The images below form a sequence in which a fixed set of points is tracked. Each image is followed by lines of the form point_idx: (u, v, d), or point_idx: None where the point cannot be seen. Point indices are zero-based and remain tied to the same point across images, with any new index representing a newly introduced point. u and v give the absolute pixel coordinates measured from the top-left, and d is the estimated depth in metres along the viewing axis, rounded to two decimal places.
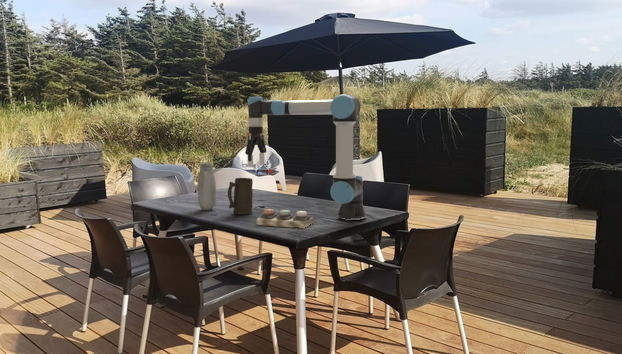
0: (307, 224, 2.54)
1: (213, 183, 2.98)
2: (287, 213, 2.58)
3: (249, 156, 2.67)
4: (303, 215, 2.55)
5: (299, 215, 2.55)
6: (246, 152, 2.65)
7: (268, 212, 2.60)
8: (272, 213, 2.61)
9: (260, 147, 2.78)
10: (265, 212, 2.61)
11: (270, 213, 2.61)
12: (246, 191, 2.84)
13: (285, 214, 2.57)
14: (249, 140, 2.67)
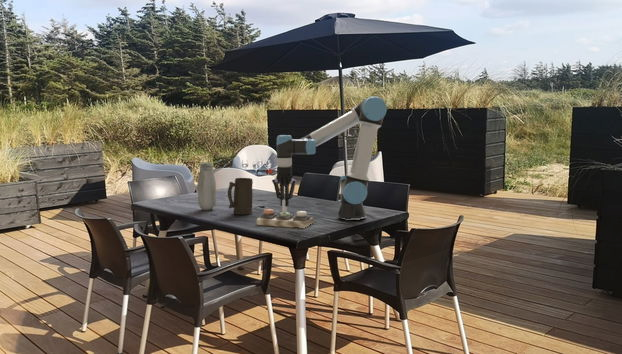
0: (307, 224, 2.54)
1: (213, 183, 2.98)
2: (287, 215, 2.58)
3: None
4: (303, 215, 2.55)
5: (299, 215, 2.55)
6: None
7: (268, 212, 2.60)
8: (272, 213, 2.61)
9: None
10: (265, 212, 2.61)
11: (270, 213, 2.61)
12: (246, 191, 2.84)
13: (285, 216, 2.58)
14: None
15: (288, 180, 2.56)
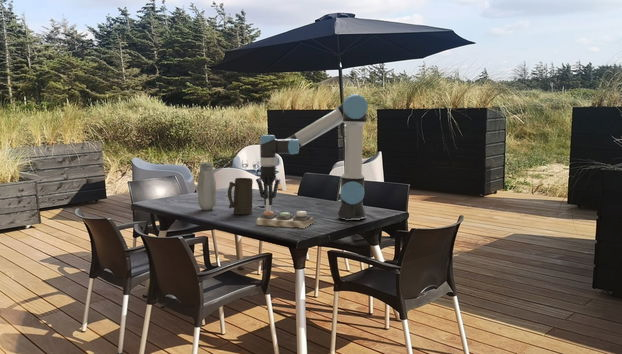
0: (307, 224, 2.54)
1: (213, 183, 2.98)
2: (287, 215, 2.58)
3: None
4: (303, 215, 2.55)
5: (299, 215, 2.55)
6: None
7: (268, 214, 2.60)
8: None
9: None
10: (265, 214, 2.61)
11: (270, 215, 2.61)
12: (246, 191, 2.84)
13: (285, 216, 2.58)
14: None
15: (271, 179, 2.59)
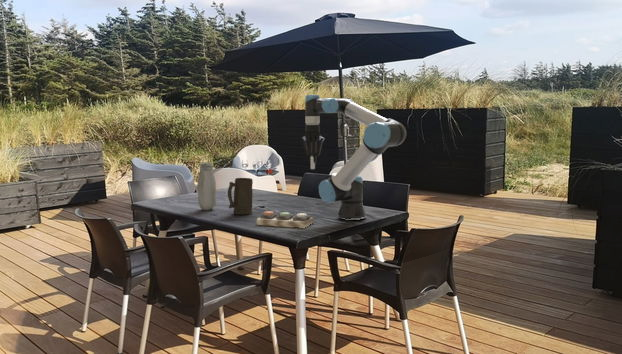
0: (307, 224, 2.54)
1: (213, 183, 2.98)
2: (287, 215, 2.58)
3: (309, 158, 2.73)
4: (303, 217, 2.55)
5: (299, 217, 2.55)
6: None
7: (268, 214, 2.60)
8: None
9: None
10: (265, 214, 2.61)
11: (270, 215, 2.61)
12: (246, 191, 2.84)
13: (285, 216, 2.58)
14: None
15: (316, 137, 2.69)
